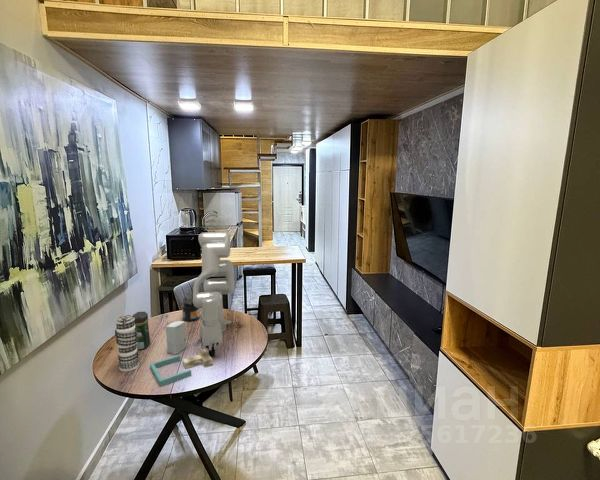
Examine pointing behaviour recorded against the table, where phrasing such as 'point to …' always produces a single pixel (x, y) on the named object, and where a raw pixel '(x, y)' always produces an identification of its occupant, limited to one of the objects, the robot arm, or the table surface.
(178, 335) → the skincare box
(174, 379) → the dock
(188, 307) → the supplement container
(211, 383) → the table surface
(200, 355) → the tee block
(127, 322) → the decorative candle
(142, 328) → the coffee jar
